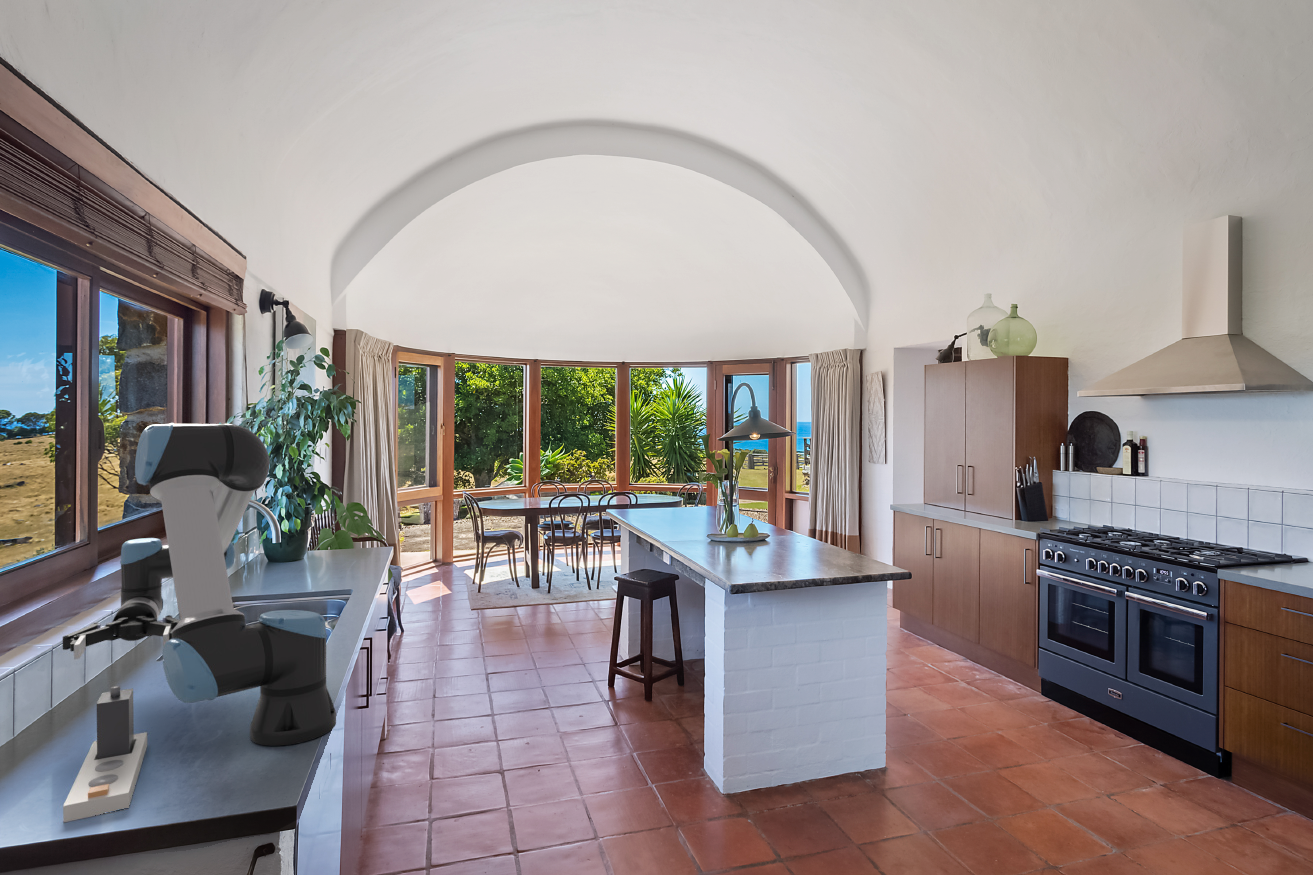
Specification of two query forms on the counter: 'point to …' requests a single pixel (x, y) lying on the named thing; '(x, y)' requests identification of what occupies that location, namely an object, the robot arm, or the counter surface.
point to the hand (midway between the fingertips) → (122, 646)
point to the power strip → (105, 782)
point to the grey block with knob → (115, 723)
